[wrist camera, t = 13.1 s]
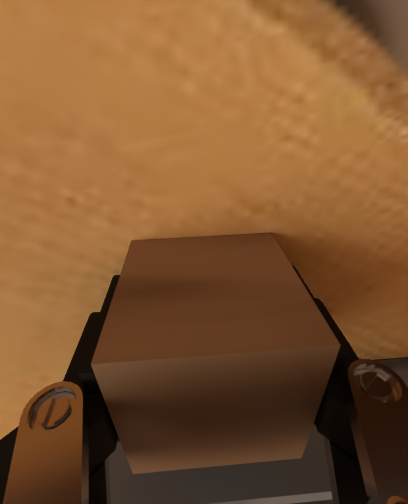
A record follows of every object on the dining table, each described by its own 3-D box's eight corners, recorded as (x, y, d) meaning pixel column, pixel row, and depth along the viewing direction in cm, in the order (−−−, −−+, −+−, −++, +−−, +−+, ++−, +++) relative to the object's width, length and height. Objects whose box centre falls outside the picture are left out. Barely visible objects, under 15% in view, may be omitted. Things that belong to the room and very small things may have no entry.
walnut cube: (260, 330, 12) (301, 458, 8) (150, 338, 12) (132, 474, 8) (271, 232, 10) (340, 345, 6) (131, 240, 10) (90, 364, 5)
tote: (358, 469, 21) (402, 565, 17) (131, 491, 20) (118, 598, 16) (429, 356, 14) (535, 470, 10) (88, 382, 13) (44, 520, 9)
